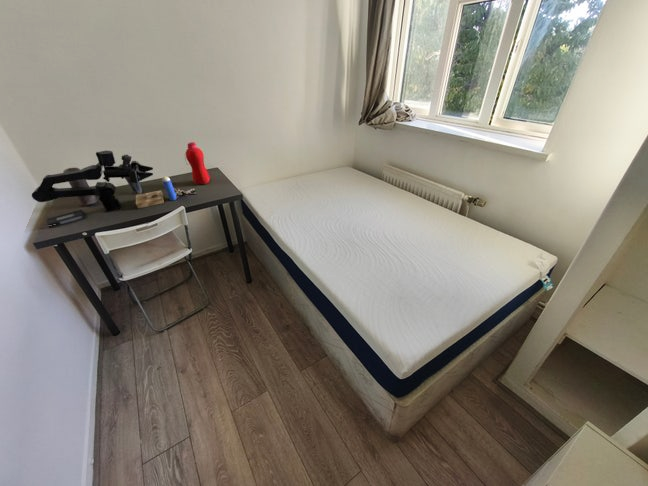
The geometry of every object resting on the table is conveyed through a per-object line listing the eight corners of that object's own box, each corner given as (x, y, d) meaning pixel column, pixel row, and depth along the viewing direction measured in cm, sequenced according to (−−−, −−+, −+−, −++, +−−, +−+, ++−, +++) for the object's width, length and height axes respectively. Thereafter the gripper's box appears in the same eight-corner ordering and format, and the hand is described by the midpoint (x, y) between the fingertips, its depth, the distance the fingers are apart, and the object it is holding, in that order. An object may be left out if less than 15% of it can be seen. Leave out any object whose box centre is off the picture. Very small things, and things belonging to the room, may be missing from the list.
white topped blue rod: (169, 201, 156) (161, 178, 148) (169, 198, 158) (160, 176, 151) (177, 199, 157) (169, 177, 149) (176, 196, 160) (168, 174, 152)
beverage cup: (133, 196, 161) (117, 163, 150) (130, 192, 166) (114, 159, 154) (146, 192, 165) (132, 160, 153) (143, 188, 170) (129, 156, 158)
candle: (96, 199, 159) (78, 166, 147) (99, 203, 154) (80, 169, 143) (80, 203, 154) (60, 169, 142) (83, 208, 150) (62, 173, 138)
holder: (138, 208, 149) (135, 203, 147) (138, 199, 157) (136, 195, 156) (164, 202, 154) (162, 198, 152) (163, 194, 162) (161, 190, 161)
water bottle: (194, 180, 180) (182, 141, 165) (211, 179, 181) (200, 140, 166) (190, 185, 172) (177, 145, 158) (208, 184, 173) (196, 144, 158)
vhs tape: (84, 218, 141) (82, 214, 140) (49, 228, 134) (47, 224, 133) (83, 212, 146) (81, 209, 145) (49, 222, 139) (47, 218, 137)
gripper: (111, 161, 131) (149, 161, 138) (115, 151, 144) (150, 151, 151) (117, 183, 137) (153, 182, 144) (121, 171, 150) (154, 171, 157)
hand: (152, 171), depth 149 cm, fingers open, 9 cm apart
